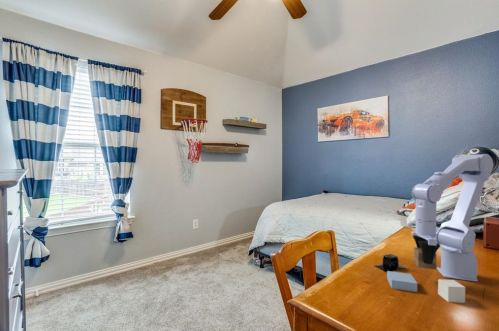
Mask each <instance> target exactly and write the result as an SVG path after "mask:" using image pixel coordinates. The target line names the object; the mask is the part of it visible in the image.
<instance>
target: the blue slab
mask: <svg viewBox="0 0 499 331" xmlns="http://www.w3.org/2000/svg"><path fill="white" fill-rule="evenodd" d="M386 273H387V274H386V279H387V281H388V283H389V286H390V288H391V289H394V290H400V291H408V292H413V293H414V292H415V293H418V282H417V281H416V279H415V278H414V276H413V275H412V274H411V273H405V272H400V271H387V272H386Z"/></svg>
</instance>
